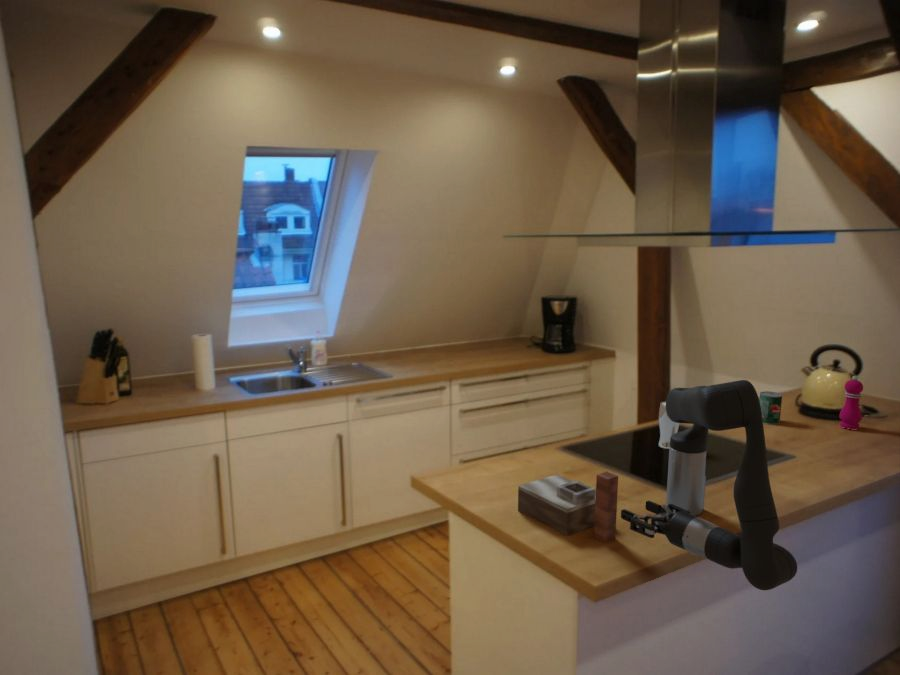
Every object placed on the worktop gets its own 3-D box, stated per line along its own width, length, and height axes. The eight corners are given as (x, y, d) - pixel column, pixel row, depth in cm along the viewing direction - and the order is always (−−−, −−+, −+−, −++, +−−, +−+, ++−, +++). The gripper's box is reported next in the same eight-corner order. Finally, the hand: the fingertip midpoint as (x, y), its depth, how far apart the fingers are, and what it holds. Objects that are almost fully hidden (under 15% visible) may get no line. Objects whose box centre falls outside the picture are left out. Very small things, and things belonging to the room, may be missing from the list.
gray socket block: (555, 498, 188) (556, 465, 186) (605, 521, 173) (607, 486, 172) (517, 510, 180) (518, 476, 178) (566, 535, 165) (567, 499, 164)
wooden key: (603, 533, 167) (606, 471, 164) (615, 538, 164) (618, 475, 161) (593, 536, 165) (596, 474, 162) (605, 542, 162) (608, 479, 159)
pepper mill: (833, 425, 257) (839, 374, 253) (851, 424, 257) (857, 373, 254) (847, 431, 250) (852, 378, 246) (865, 430, 250) (871, 378, 247)
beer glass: (678, 450, 227) (680, 407, 225) (656, 448, 230) (659, 405, 227) (678, 444, 234) (681, 402, 231) (657, 442, 236) (660, 400, 234)
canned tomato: (778, 425, 256) (780, 397, 254) (755, 422, 260) (758, 394, 258) (781, 420, 262) (783, 393, 261) (759, 417, 267) (761, 390, 265)
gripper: (716, 510, 146) (655, 486, 159) (675, 526, 138) (614, 500, 151) (714, 542, 147) (653, 516, 160) (673, 561, 139) (612, 532, 152)
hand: (634, 509), depth 156 cm, fingers open, 8 cm apart
